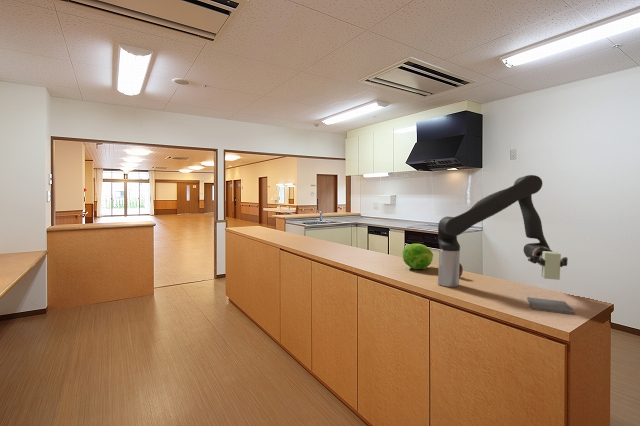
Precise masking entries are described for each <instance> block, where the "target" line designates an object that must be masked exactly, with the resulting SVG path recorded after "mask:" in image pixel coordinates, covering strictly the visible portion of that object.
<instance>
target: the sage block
mask: <svg viewBox="0 0 640 426" xmlns="http://www.w3.org/2000/svg"><path fill="white" fill-rule="evenodd" d="M561 254H562V253H560V252H558V251H553V252H550V251H543V254H542V258H543V259H544V260H545V266H543V265H542V266H541V277H542V278H543V279H545V280H546V279H547V280H555V281H556V280H558V281H559V280H561V279H560V278H561V267H560V262H561V259H562V257H561V256H562V255H561Z"/></svg>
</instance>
